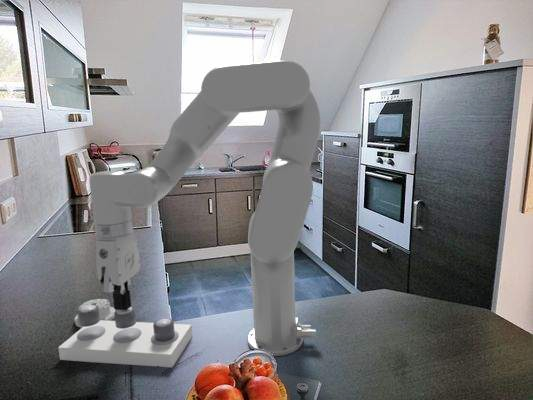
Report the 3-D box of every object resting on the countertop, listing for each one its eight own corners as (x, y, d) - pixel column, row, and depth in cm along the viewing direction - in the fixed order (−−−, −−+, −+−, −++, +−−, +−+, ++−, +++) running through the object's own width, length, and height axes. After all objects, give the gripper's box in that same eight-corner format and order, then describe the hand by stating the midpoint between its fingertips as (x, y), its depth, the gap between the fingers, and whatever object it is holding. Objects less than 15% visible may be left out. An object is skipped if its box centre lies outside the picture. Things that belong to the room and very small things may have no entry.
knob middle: (139, 319, 88) (138, 305, 87) (130, 329, 84) (128, 315, 83) (122, 318, 89) (120, 305, 88) (111, 328, 85) (110, 314, 84)
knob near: (177, 331, 87) (176, 317, 86) (170, 341, 83) (168, 327, 82) (159, 330, 88) (158, 317, 87) (151, 340, 84) (149, 326, 83)
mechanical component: (123, 317, 102) (104, 307, 109) (121, 301, 102) (102, 292, 108) (86, 333, 95) (68, 321, 101) (84, 317, 94) (66, 306, 100)
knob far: (104, 317, 90) (102, 304, 89) (92, 327, 85) (90, 313, 85) (87, 316, 90) (85, 303, 90) (75, 326, 86) (73, 312, 85)
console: (192, 336, 91) (191, 323, 91) (172, 367, 80) (170, 353, 79) (93, 330, 95) (91, 319, 95) (60, 359, 84) (58, 346, 83)
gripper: (111, 239, 74) (120, 326, 78) (146, 220, 89) (153, 294, 92) (76, 238, 75) (87, 324, 79) (117, 220, 90) (124, 293, 93)
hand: (122, 308), depth 86 cm, fingers closed
